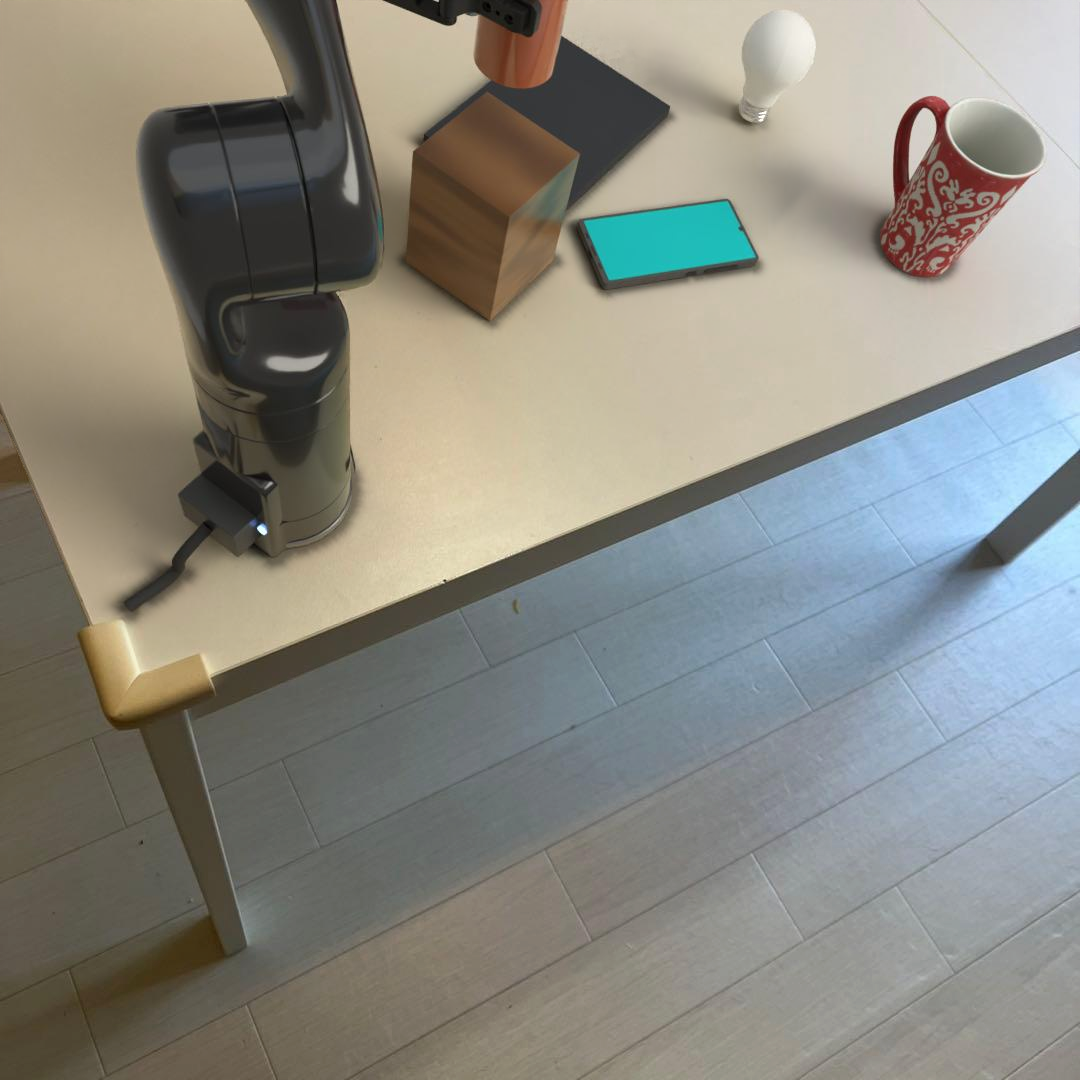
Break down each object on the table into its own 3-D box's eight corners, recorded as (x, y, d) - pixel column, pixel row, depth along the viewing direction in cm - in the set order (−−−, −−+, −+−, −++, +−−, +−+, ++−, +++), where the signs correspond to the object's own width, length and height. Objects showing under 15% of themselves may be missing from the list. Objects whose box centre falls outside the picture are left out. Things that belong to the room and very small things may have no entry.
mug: (980, 269, 96) (1069, 159, 84) (910, 298, 93) (992, 188, 81) (900, 175, 100) (974, 57, 88) (830, 200, 97) (896, 81, 85)
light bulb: (779, 150, 99) (826, 52, 89) (713, 132, 98) (753, 32, 89) (784, 103, 102) (829, 4, 92) (720, 86, 102) (759, -15, 92)
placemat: (546, 229, 90) (549, 219, 88) (422, 144, 92) (423, 133, 91) (667, 116, 98) (670, 106, 97) (551, 41, 100) (553, 30, 99)
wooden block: (489, 321, 84) (509, 217, 73) (405, 262, 85) (412, 150, 75) (553, 260, 88) (580, 153, 77) (471, 204, 89) (487, 91, 79)
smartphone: (577, 219, 89) (729, 198, 93) (575, 225, 90) (726, 204, 94) (605, 284, 87) (760, 260, 91) (603, 291, 87) (757, 266, 91)
